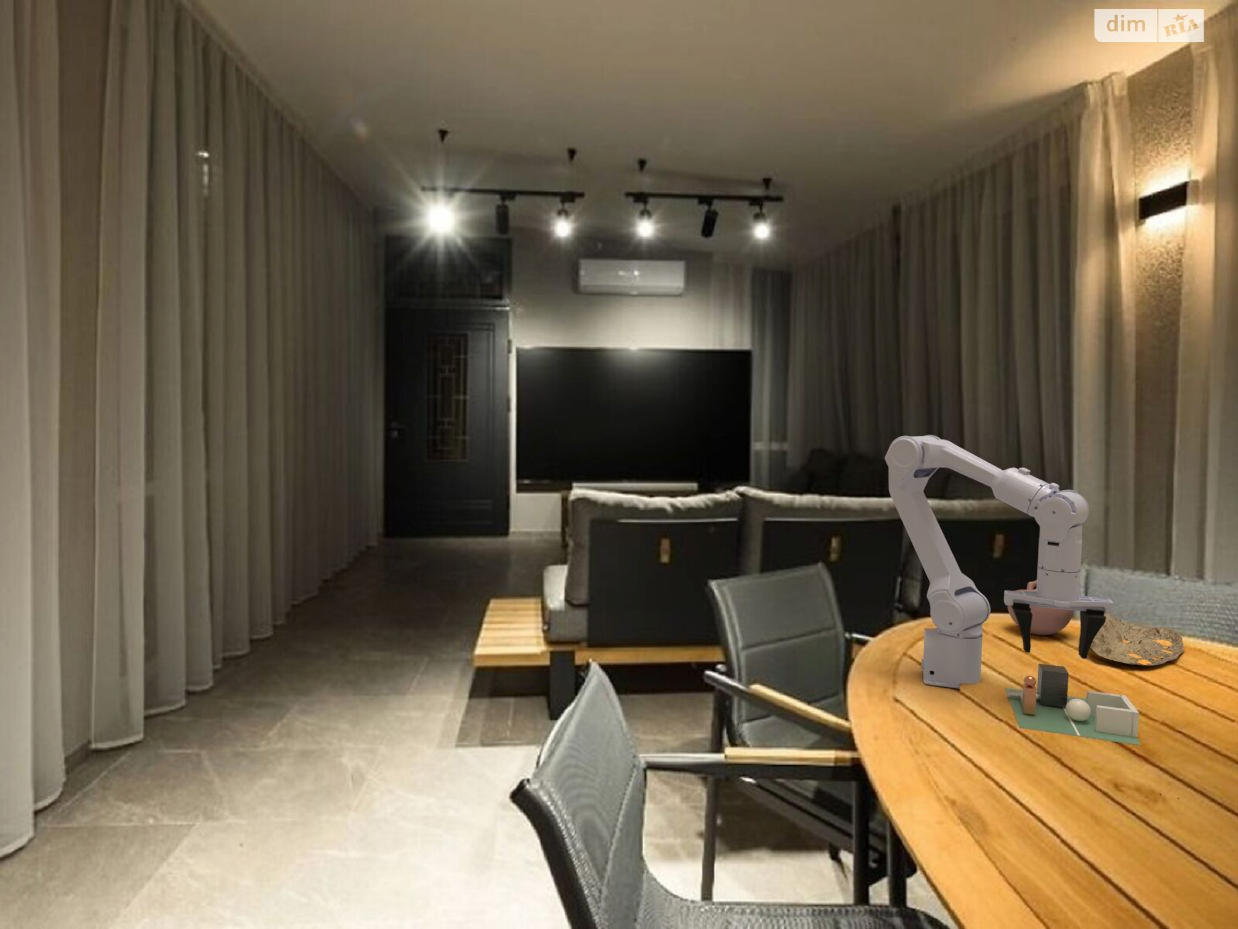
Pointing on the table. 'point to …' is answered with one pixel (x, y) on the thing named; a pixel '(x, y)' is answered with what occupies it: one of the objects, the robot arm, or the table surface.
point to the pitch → (1062, 722)
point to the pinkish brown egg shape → (1045, 617)
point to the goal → (1113, 713)
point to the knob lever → (1044, 688)
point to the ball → (1078, 710)
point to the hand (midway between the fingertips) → (1054, 653)
